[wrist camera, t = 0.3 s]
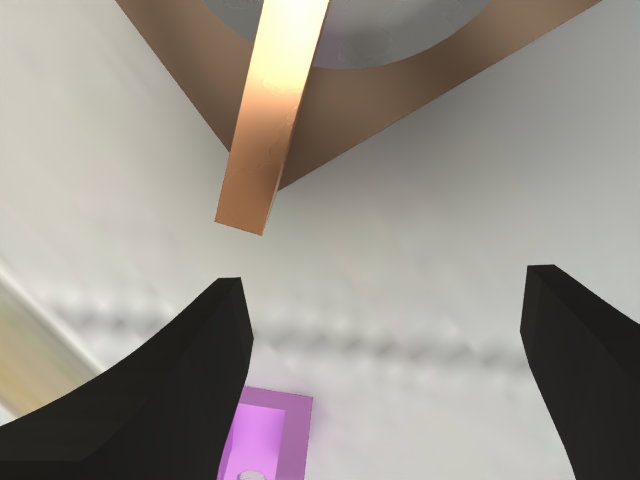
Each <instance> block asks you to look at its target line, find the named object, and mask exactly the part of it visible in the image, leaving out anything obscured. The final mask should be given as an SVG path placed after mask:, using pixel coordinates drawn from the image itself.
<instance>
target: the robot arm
mask: <svg viewBox="0 0 640 480" xmlns="http://www.w3.org/2000/svg"><path fill="white" fill-rule="evenodd" d="M520 334H521V337H522V341H523V345H524V349H525V352H526V356H527V359H528V363H529V366H530V369H531V371H532V374H533V376H534V378H535V381H536V383H537V385H538V388H539V390H540V392H541V395H542V397H543V399H544V402H545V404H546V406H547V408H548V411H549V413H550V415H551V418H552V420H553V422H554V424H555V427H556V429H557V431H558V433H559V436H560V438H561V440H562V443H563V445H564V447H565V450H566V452H567V455H568V458H569V460H570V463H571V466H572V469H573V472H574V475H575V478H576V480H640V324H638V323H637V322H635V321H633V320H632V319H630V318H629V317H627V316H626V315H624V314H623V313H621V312H620V311H618V310H617V309H615V308H614V307H613V306H611V305H610V304H608V303H607V302H605V301H604V300H603V299H601V298H600V297H598V296H597V295H596V294H594V293H593V292H591V291H590V290H589V289H587V288H586V287H585V286H583V285H582V284H581V283H579V282H578V281H576V280H575V279H574V278H572V277H571V276H570V275H568V274H567V273H566V272H564V271H563V270H561V269H560V268H558V267H557V266H555V265H554V264H553V265H529V266H527V275H526V284H525V292H524V301H523V309H522V318H521V326H520ZM253 340H254V337H253V333H252V328H251V323H250V319H249V314H248V309H247V304H246V300H245V295H244V290H243V286H242V281H241V277H236V278H218V279H217V280H216V281H214V282H213V283H212V284H211V285H210V286H209V287H208V288H207V289H205V290H204V291H203V292H202V293H201V294H200V295H199V296H198V297H197V298H196V299H195V300H194V301H193V302H192V303H191V304H189V305H188V306H187V307H186V308H185V309H184V310H183V311H182V312H181V313H180V314H178V315H177V316H176V317H175V318H174V319H173V320H172V321H171V322H170V323H168V324H167V325H166V326H165V327H164V328H162V329H161V330H160V331H159V332H158V333H156V334H155V335H154V336H153V337H151V338H150V339H149V340H148V341H147V342H145V343H144V344H143V345H142V346H140V347H139V348H138V349H137V350H135V351H134V352H132V353H131V354H130V355H128V356H127V357H126V358H124V359H123V360H121V361H120V362H118V363H117V364H115V365H114V366H113V367H111V368H110V369H108V370H107V371H105V372H103V373H102V374H100V375H99V376H97V377H95V378H94V379H92V380H90V381H88V382H87V383H85V384H83V385H82V386H80V387H78V388H77V389H75V390H73V391H72V392H70V393H68V394H66V395H65V396H63V397H61V398H59V399H57V400H55V401H53V402H51V403H49V404H47V405H45V406H43V407H41V408H39V409H37V410H35V411H33V412H31V413H29V414H27V415H25V416H23V417H21V418H18V419H16V420H14V421H12V422H9V423H7V424H5V425H2V426H0V480H217V475H218V470H219V466H220V462H221V458H222V454H223V450H224V447H225V444H226V440H227V437H228V434H229V431H230V428H231V425H232V422H233V419H234V415H235V412H236V409H237V406H238V403H239V400H240V397H241V393H242V390H243V387H244V384H245V380H246V377H247V374H248V369H249V364H250V358H251V352H252V346H253Z"/></svg>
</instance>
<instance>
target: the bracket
mask: <svg viewBox="0 0 640 480" xmlns="http://www.w3.org/2000/svg"><path fill="white" fill-rule="evenodd" d="M312 400H313V397H307V396H301V395H294V394H288V393H282V392H275V391H269V390H263V389H256V388H250V387H243V390H242V393H241V397H240V400H239V403H238V406H237V409H236V412H235V415H234V419H233V422H232V425H231V428H230V431H229V434H228V437H227V440H226V444H225V447H224V450H223V454H222V458H221V462H220V466H219V470H218V475H217V480H239V476H240V473H241V472H243V471H249V470H251V471H256V472H259V473H261V474H263V475H264V476H265V478H266V479H267V480H304V475H305V466H306V457H307V447H308V438H309V428H310V419H311V410H312Z"/></svg>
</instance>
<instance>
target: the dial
mask: <svg viewBox="0 0 640 480" xmlns="http://www.w3.org/2000/svg"><path fill="white" fill-rule="evenodd" d="M201 1H202V2H203V3H204V4H205V6H206V7H207V8H209V9H210V10H211V11H212V12H213V13H214V14H215V15H216V16H217V17H218V18H219V19H220V20H221V21H222V22H223V23H224V24H225V25H227V26H228V27H229V28H231V29H232V30H233V31H235V32H236V33H237V34H239V35H240V36H241V37H243V38H244V39H246V40H247V41H249V42H251V43H253V44H254V49H253V54H252V58H251V62H250V67H249V71H248V76H247V80H246V85H245V89H244V93H243V98H242V102H241V107H240V111H239V116H238V120H237V124H236V129H235V133H234V138H233V142H232V147H231V151H230V155H229V160H228V164H227V169H226V173H225V178H224V182H223V186H222V191H221V195H220V200H219V204H218V209H217V213H216V218H215V222H217V223H221V224H224V225H227V226H231V227H234V228H237V229H241V230H244V231H247V232H251V233H254V234H257V235H261V236H262V233H263V231H264V228H265V225H266V222H267V219H268V216H269V214H270V211H271V208H272V205H273V202H274V199H275V196H276V193H277V189H278V186H279V182H280V179H281V175H282V172H283V168H284V165H285V161H286V158H287V154H288V151H289V148H290V144H291V141H292V137H293V134H294V130H295V127H296V123H297V120H298V116H299V113H300V109H301V106H302V102H303V99H304V95H305V92H306V88H307V85H308V81H309V78H310V74H311V71H312V67H320V68H328V69H362V68H368V67H375V66H381V65H386V64H389V63H392V62H396V61H399V60H403V59H406V58H408V57H411V56H413V55H415V54H418V53H420V52H422V51H424V50H427V49H429V48H431V47H432V46H434V45H436V44H438V43H439V42H441V41H443V40H444V39H446V38H448V37H449V36H451V35H453V34H454V33H455V32H456V31H458V30H459V29H460V28H462V27H463V26H464V25H465V24H467V23H468V22H469V21H471V20H472V19H473V18H474V17H475V16H476V15H477V14H479V13H480V12H481V11H482V10H483V9H484V8H485V7H486V6H487V5H488V4H489V3H490V2H491V1H492V0H201Z"/></svg>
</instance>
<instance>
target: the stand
mask: <svg viewBox="0 0 640 480" xmlns="http://www.w3.org/2000/svg"><path fill="white" fill-rule="evenodd" d="M115 1H116V2H117V3H118V5H119V6H120V7H121V9H122V10H123V11H124V13H125V14H126V15H127V17H128V18H129V19H130V21H131V22H132V23H133V25H134V26H135V27H136V29H137V30H138V31H139V33H140V34H141V35H142V37H143V38H144V39H145V41H146V42H147V43H148V45H149V46H150V47H151V49H152V50H153V51H154V53H155V54H156V55H157V57H158V58H159V59H160V61H161V62H162V63H163V65H164V66H165V67H166V69H167V70H168V71H169V73H170V74H171V75H172V77H173V78H174V79H175V81H176V82H177V83H178V85H179V86H180V87H181V89H182V90H183V91H184V93H185V94H186V95H187V97H188V98H189V99H190V101H191V102H192V103H193V105H194V106H195V107H196V109H197V110H198V111H199V113H200V114H201V115H202V117H203V118H204V119H205V121H206V122H207V123H208V125H209V126H210V127H211V129H212V130H213V131H214V133H215V134H216V135H217V137H218V138H219V139H220V141H221V142H222V143H223V145H224V146H225V147H226V149H227V150H228V151H229V153H230V151H231V147H232V142H233V138H234V133H235V129H236V124H237V120H238V116H239V111H240V107H241V102H242V98H243V93H244V89H245V85H246V80H247V76H248V71H249V67H250V62H251V58H252V54H253V49H254V44H253V43H251V42H249V41H247V40H246V39H244V38H243V37H241V36H240V35H239V34H237V33H236V32H235V31H233V30H232V29H231V28H229V27H228V26H227V25H225V24H224V23H223V22H222V21H221V20H220V19H219V18H218V17H217V16H216V15H215V14H214V13H213V12H212V11H211V10H210V9H209V8H207V7H206V6H205V4H204V3H203V2H202V1H201V0H115ZM600 1H602V0H492V1H491V2H490V3H489V4H488V5H487V6H486V7H485V8H484V9H483V10H482V11H481V12H480V13H479V14H477V15H476V16H475V17H474V18H473V19H472V20H471V21H469V22H468V23H467V24H465V25H464V26H463V27H462V28H460V29H459V30H458V31H456V32H455V33H454V34H453V35H451V36H449V37H448V38H446V39H444V40H443V41H441V42H439V43H438V44H436V45H434V46H432V47H431V48H429V49H427V50H424V51H422V52H420V53H418V54H415V55H413V56H411V57H408V58H406V59H403V60H399V61H396V62H392V63H389V64H386V65H381V66H375V67H368V68H362V69H328V68H320V67H312V71H311V74H310V78H309V81H308V85H307V88H306V92H305V95H304V99H303V102H302V106H301V109H300V113H299V116H298V120H297V123H296V127H295V130H294V134H293V137H292V141H291V144H290V148H289V151H288V154H287V158H286V161H285V165H284V168H283V172H282V175H281V179H280V182H279V186H278V189H277V191H279V190H281V189H282V188H284V187H286V186H288V185H289V184H291V183H293V182H294V181H296V180H298V179H299V178H301V177H303V176H304V175H306V174H308V173H310V172H311V171H313V170H315V169H316V168H318V167H320V166H321V165H323V164H325V163H327V162H328V161H330V160H332V159H333V158H335V157H337V156H338V155H340V154H342V153H344V152H345V151H347V150H349V149H350V148H352V147H354V146H355V145H357V144H359V143H361V142H362V141H364V140H366V139H367V138H369V137H371V136H372V135H374V134H376V133H378V132H379V131H381V130H383V129H384V128H386V127H388V126H389V125H391V124H393V123H395V122H396V121H398V120H400V119H401V118H403V117H405V116H406V115H408V114H410V113H411V112H413V111H415V110H417V109H418V108H420V107H422V106H423V105H425V104H427V103H428V102H430V101H432V100H434V99H435V98H437V97H439V96H440V95H442V94H444V93H445V92H447V91H449V90H451V89H452V88H454V87H456V86H457V85H459V84H461V83H462V82H464V81H466V80H468V79H469V78H471V77H473V76H474V75H476V74H478V73H479V72H481V71H483V70H485V69H486V68H488V67H490V66H491V65H493V64H495V63H496V62H498V61H500V60H501V59H503V58H505V57H507V56H508V55H510V54H512V53H513V52H515V51H517V50H518V49H520V48H522V47H524V46H525V45H527V44H529V43H530V42H532V41H534V40H535V39H537V38H539V37H541V36H542V35H544V34H546V33H547V32H549V31H551V30H552V29H554V28H556V27H558V26H559V25H561V24H563V23H564V22H566V21H568V20H569V19H571V18H573V17H575V16H576V15H578V14H580V13H581V12H583V11H585V10H586V9H588V8H590V7H591V6H593V5H595V4H597V3H598V2H600Z"/></svg>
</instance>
